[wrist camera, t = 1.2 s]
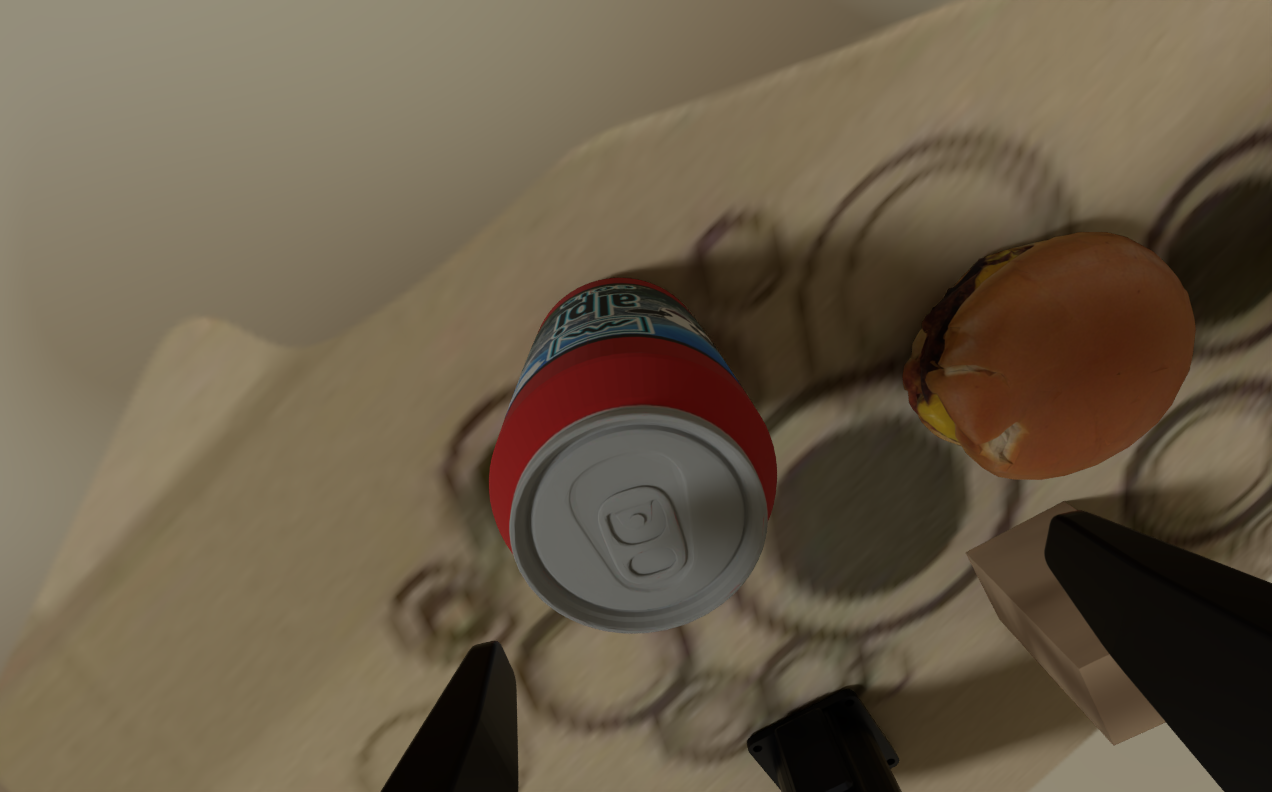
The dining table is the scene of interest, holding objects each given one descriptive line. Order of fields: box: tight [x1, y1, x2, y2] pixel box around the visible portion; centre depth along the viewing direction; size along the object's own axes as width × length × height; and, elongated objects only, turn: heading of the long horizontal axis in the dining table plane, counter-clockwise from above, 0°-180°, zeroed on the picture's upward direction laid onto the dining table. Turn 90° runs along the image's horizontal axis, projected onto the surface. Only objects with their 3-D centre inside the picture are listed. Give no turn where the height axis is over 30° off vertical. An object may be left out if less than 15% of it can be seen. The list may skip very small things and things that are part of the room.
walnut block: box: [966, 501, 1165, 745], centre depth 25 cm, size 5×5×7 cm
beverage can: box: [489, 278, 777, 633], centre depth 17 cm, size 7×7×12 cm
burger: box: [902, 232, 1196, 480], centre depth 22 cm, size 10×9×5 cm
